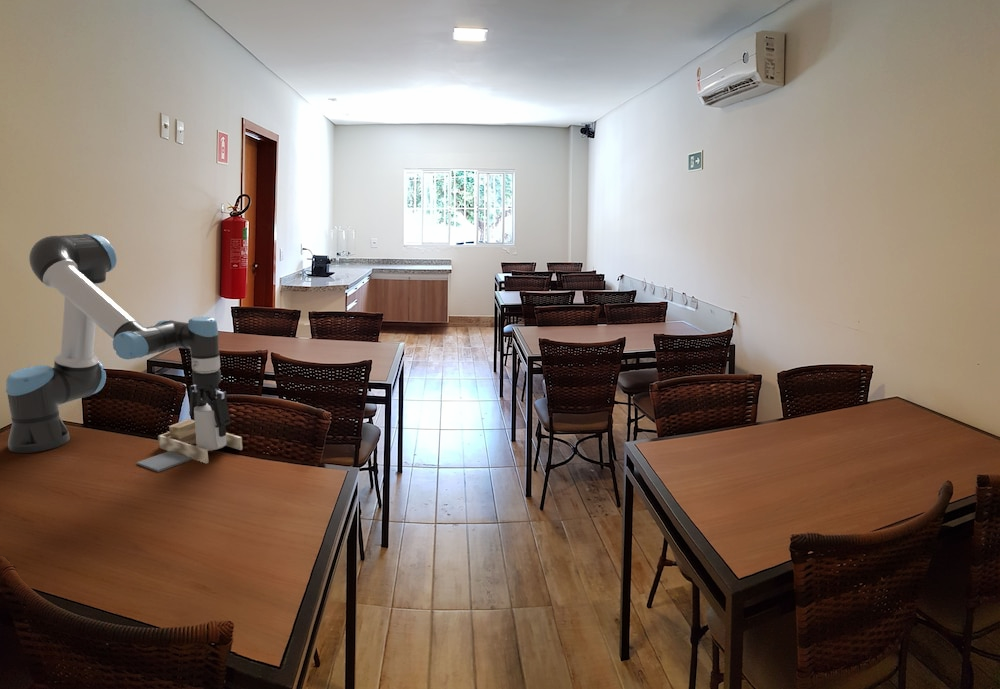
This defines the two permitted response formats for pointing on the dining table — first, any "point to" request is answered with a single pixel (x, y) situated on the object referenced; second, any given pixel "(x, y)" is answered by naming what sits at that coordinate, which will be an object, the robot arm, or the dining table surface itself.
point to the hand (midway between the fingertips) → (211, 442)
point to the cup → (205, 427)
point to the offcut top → (182, 429)
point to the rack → (193, 450)
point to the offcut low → (187, 439)
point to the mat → (164, 461)
